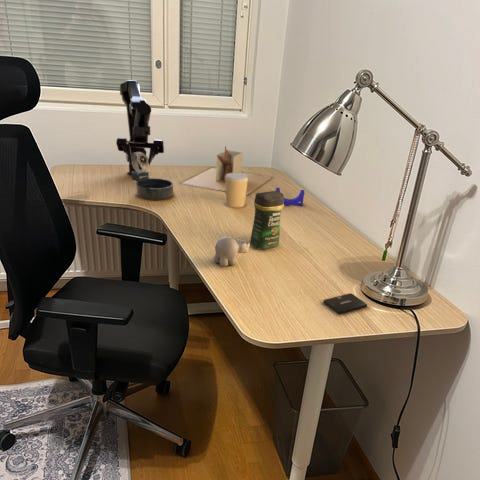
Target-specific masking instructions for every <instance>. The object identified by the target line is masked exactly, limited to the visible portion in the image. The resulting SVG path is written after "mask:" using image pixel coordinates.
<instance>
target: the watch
mask: <svg viewBox="0 0 480 480" xmlns="http://www.w3.org/2000/svg"><path fill="white" fill-rule="evenodd" d="M136 156H137V160H136ZM131 158H132V165H133V168H134V170H136V171H133V172H131V174H130V175H131V176H130V177H131V181H135V182H140V181H145V180H149V178H150V176H149V171H147V169H148V167H149V164H148V161H149V156H147V154H146V155H145V154H143V153H142V152H134V153H133V154H132V156H131ZM137 162H138V163H137ZM138 164H139V165H140V167H141V168H142V170H140V169H139V166H138Z"/></svg>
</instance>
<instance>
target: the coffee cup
mask: <svg viewBox="0 0 480 480" xmlns="http://www.w3.org/2000/svg"><path fill="white" fill-rule="evenodd" d="M225 178H226V191H225V205H226V206H227V207H230V208H243V207H245V203H246V197H247V195H246V190H247V182H248V176H247V175H245V174H242V173H228V174H227V175H226V176H225Z"/></svg>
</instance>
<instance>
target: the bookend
mask: <svg viewBox="0 0 480 480" xmlns="http://www.w3.org/2000/svg"><path fill="white" fill-rule="evenodd" d="M243 155H244V153H243V152H241V151H234V150H229V149H227V146H224V150H223V151H219V152H218V153H216V159H215V160H216V162H215V163H216V165H215V167H214V168H215V181H216V182H218V181H220V180H221V179H223V180H224V181H225V180H226V178H225V176H226V175H227V174H228V173H242V174H245V173H246V172H242V171H243Z"/></svg>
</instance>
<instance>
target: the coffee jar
mask: <svg viewBox="0 0 480 480" xmlns="http://www.w3.org/2000/svg"><path fill="white" fill-rule="evenodd" d="M284 198H285V195H284V194H283V192H281V191H280V192H278V191H276V189H275V190H270V191H264V192H256V194H255V196H254V202H253V205H254V218H253V223H252V229H251V234H250V241H249V244H250V245H251V246H252V247H253V248H255V249H259V250H269V249H274V248H277V247H278V246H279V245H280V229H281V228H280V227H281V217H282V216H281V215H282V210H283V208H284Z"/></svg>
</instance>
